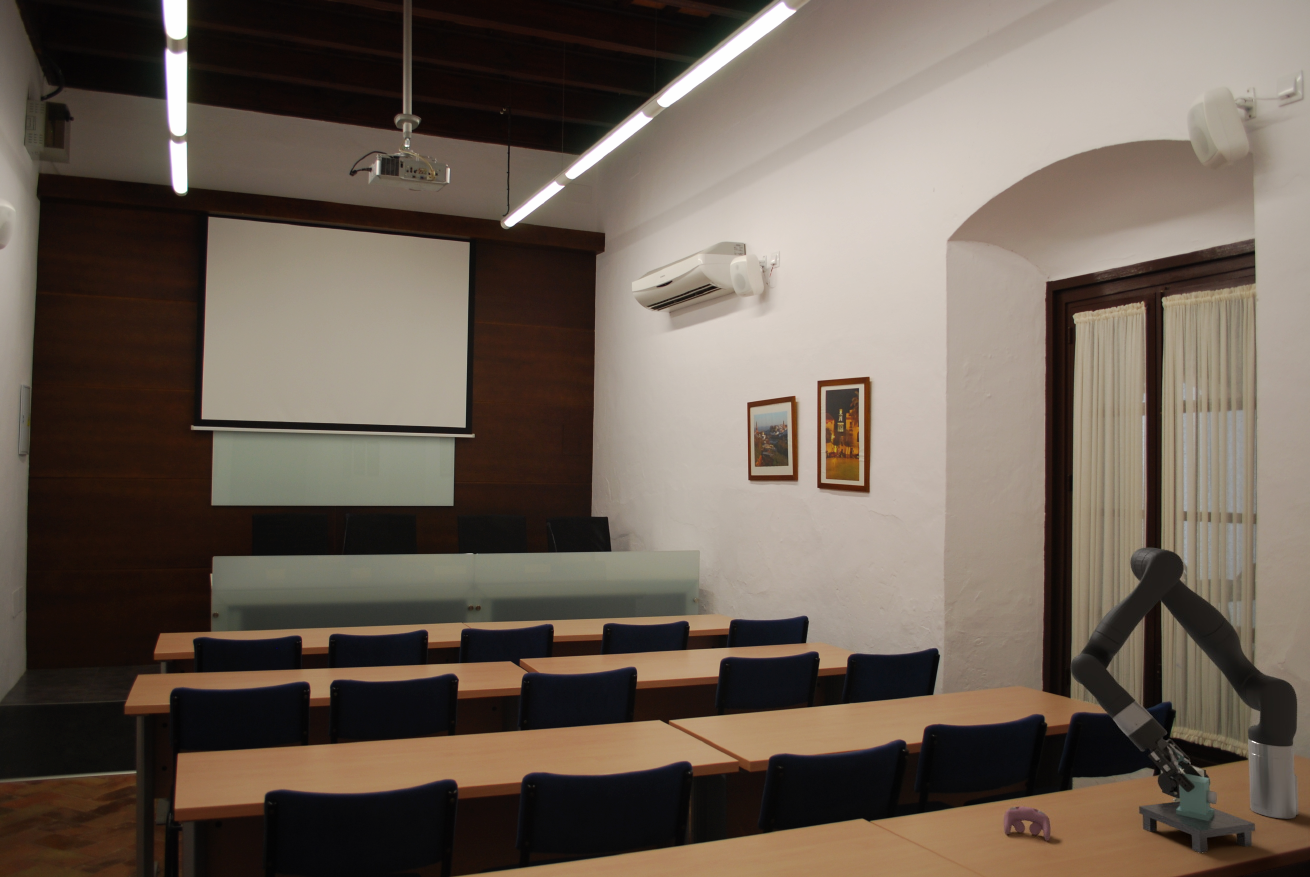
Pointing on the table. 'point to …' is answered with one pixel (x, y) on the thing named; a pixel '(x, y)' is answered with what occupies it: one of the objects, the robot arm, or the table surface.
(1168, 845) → the table surface
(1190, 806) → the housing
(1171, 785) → the pneumatic valve
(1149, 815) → the stand
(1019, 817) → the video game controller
